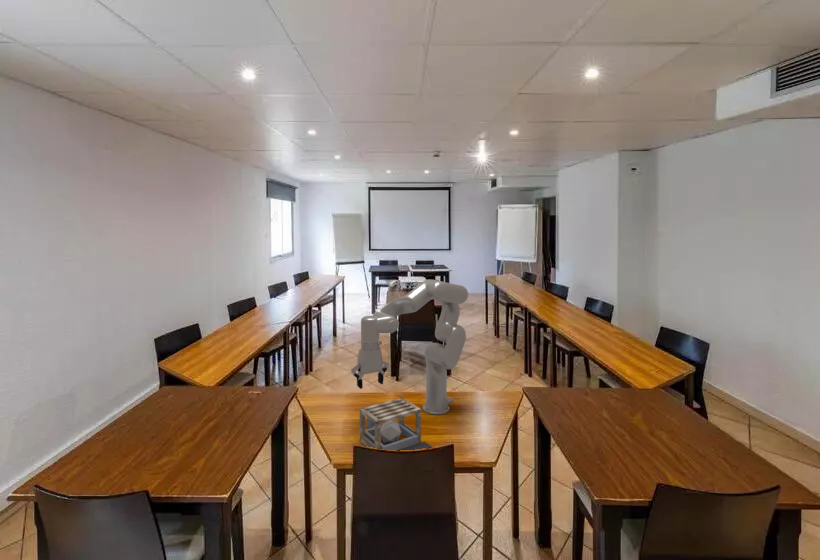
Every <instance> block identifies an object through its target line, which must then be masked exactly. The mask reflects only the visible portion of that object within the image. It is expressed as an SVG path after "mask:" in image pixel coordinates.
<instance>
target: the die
mask: <svg viewBox="0 0 820 560" xmlns="http://www.w3.org/2000/svg"><path fill="white" fill-rule="evenodd" d="M398 422H399V421H398V420H392V421H389V422H385V423H382V424H381V425H382V427H381V430H380V439H381V441H382V444H383V445H387V444H390V443H393V442H396V441H399V440H400V436H401V435H402V434H401V430H400V427H399V425H398Z"/></svg>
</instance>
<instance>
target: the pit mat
mask: <svg viewBox="0 0 820 560" xmlns="http://www.w3.org/2000/svg"><path fill="white" fill-rule="evenodd" d="M431 447H432V448H433V446H432V445H430V444H429V443H427V442H426V441H422V442H418V444H415V445H412V446H409V447H406V448H403V449H400V450H415V449H422V448H429V449H431Z"/></svg>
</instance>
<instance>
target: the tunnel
mask: <svg viewBox="0 0 820 560" xmlns="http://www.w3.org/2000/svg"><path fill="white" fill-rule="evenodd" d="M371 405H372V406H370V405H368V406H369V407H367V406H365V407H361V408H359V442H360V443H361V442H362V443H363V444H364V445H365V446H368V447H373V448H377V449H381V444H380V442H381V436H380V426H381V425H382V424H383V423H385V422H389V421H396V420H398V422H399V423H400V424H402V425H403V426H404V427H406V428H407V429H409V430H410V431H411V432H413V433H414V434H416V435H417V436H418V443H421V441H422V409H421V408H420V407H419V406H417V405H415V404H413V403H412V402H410V401H408V400H407V399H405V398H403V397H400V398H394V399H392V400H387V401H385V402H381V403H377V404H371ZM413 415H414V416H415V418H414V420H415V422H414V423H415V425H414V426H415V427H414V428H415V429H413V428H412V427H410V426H409V425H408V424H406V423H405V417H409V416H413ZM367 418H368V419H370V420H371V421H372V422H373V423H375V436H374V437H375V444H374V443H372V442H371V441H370V440H369V439H368V438H367V437H365V430H366V419H367ZM362 443H361V444H362ZM363 444H362V445H363ZM364 445H363V446H364ZM365 446H364V447H365Z"/></svg>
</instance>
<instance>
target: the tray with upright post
mask: <svg viewBox="0 0 820 560" xmlns="http://www.w3.org/2000/svg"><path fill="white" fill-rule="evenodd" d="M372 405H373V404H371V405H367V406H366V407H369V406H372ZM397 422H398V425H399V427H400V430H401V434H400V435H401V436H403V438H402V439H398V441H396V442H393V443H390V444H384V443H383V442H381V441H380V444H381V449H384V450H400V449H403V448H406V447H409V446H412V445H415V444H418V443H419V442H418V436H417V435H416V434H414V433H413V432H411V431H410V430H409V429H407V428H406V427H404V426H403V425H402V424H400V423H399V421H397ZM366 427H367V428H368V429H365V437H367V438H368V439H369V440H370V441H371V442H372V443H374V444H375V423H373V422H372V421H371V420H370V419H368V418H367V417H366ZM381 427H382V424H380V430H381Z"/></svg>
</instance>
